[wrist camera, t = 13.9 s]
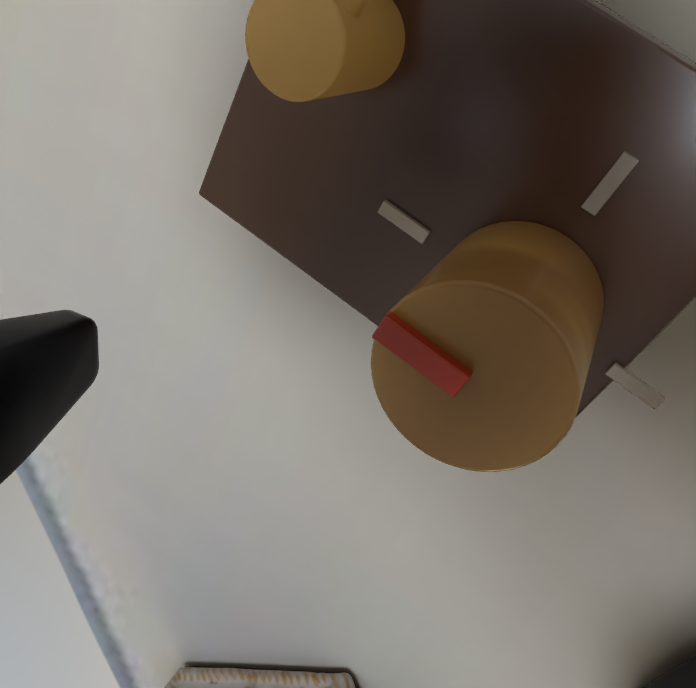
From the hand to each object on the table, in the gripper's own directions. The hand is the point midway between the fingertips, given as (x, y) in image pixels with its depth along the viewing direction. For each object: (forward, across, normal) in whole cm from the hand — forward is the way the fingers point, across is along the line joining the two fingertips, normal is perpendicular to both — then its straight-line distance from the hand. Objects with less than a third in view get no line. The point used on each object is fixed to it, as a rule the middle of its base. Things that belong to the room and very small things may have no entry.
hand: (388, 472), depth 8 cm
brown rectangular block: (+12, +2, -1) cm, 12 cm away
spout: (+10, +5, -4) cm, 11 cm away
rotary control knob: (+9, -1, +1) cm, 9 cm away
